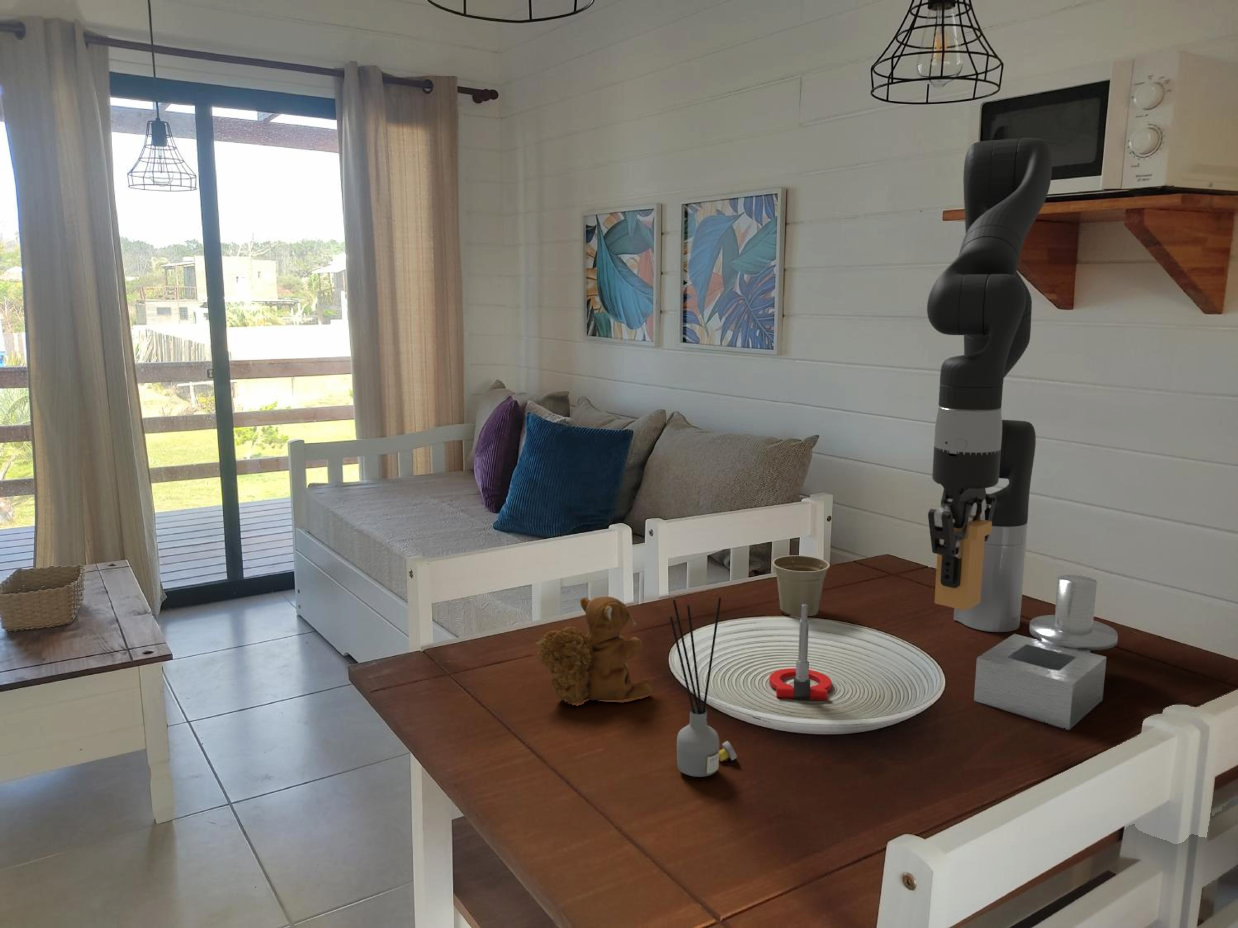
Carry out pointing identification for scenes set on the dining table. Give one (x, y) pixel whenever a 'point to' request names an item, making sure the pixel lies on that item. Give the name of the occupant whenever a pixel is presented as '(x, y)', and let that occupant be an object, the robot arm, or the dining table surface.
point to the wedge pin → (965, 570)
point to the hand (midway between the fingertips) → (958, 581)
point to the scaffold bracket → (1050, 661)
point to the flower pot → (800, 582)
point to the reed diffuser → (698, 720)
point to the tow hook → (801, 672)
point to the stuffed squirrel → (593, 655)
